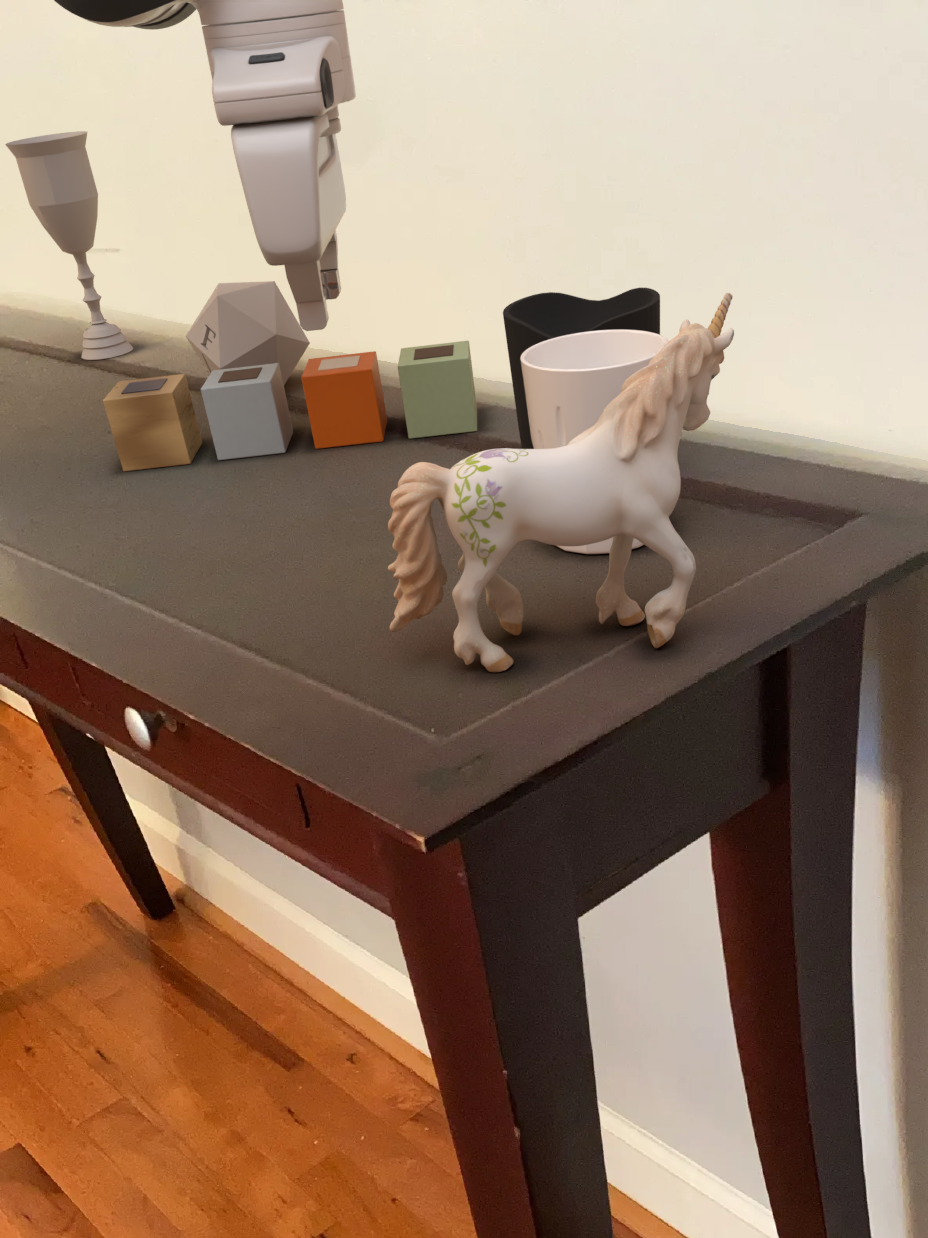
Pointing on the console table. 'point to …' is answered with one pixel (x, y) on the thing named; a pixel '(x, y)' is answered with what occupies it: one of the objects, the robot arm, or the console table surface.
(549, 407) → the white cup
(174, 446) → the line block
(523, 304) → the pen holder
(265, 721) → the console table surface
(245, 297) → the die
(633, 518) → the unicorn figurine
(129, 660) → the console table surface
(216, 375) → the line block
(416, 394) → the line block
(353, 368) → the orange block
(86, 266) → the chalice
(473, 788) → the console table surface
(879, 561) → the console table surface
